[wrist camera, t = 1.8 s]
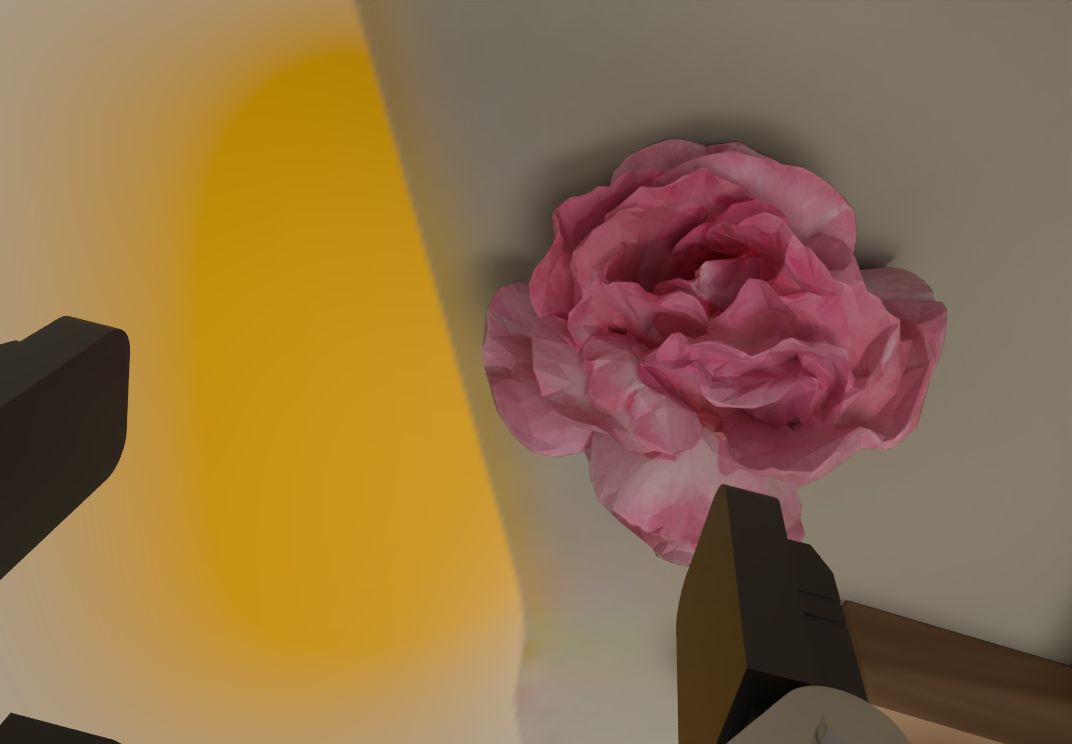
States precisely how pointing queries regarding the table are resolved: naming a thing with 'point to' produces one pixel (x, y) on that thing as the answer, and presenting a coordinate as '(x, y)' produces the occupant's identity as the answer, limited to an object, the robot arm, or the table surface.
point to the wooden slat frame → (958, 684)
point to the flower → (708, 339)
